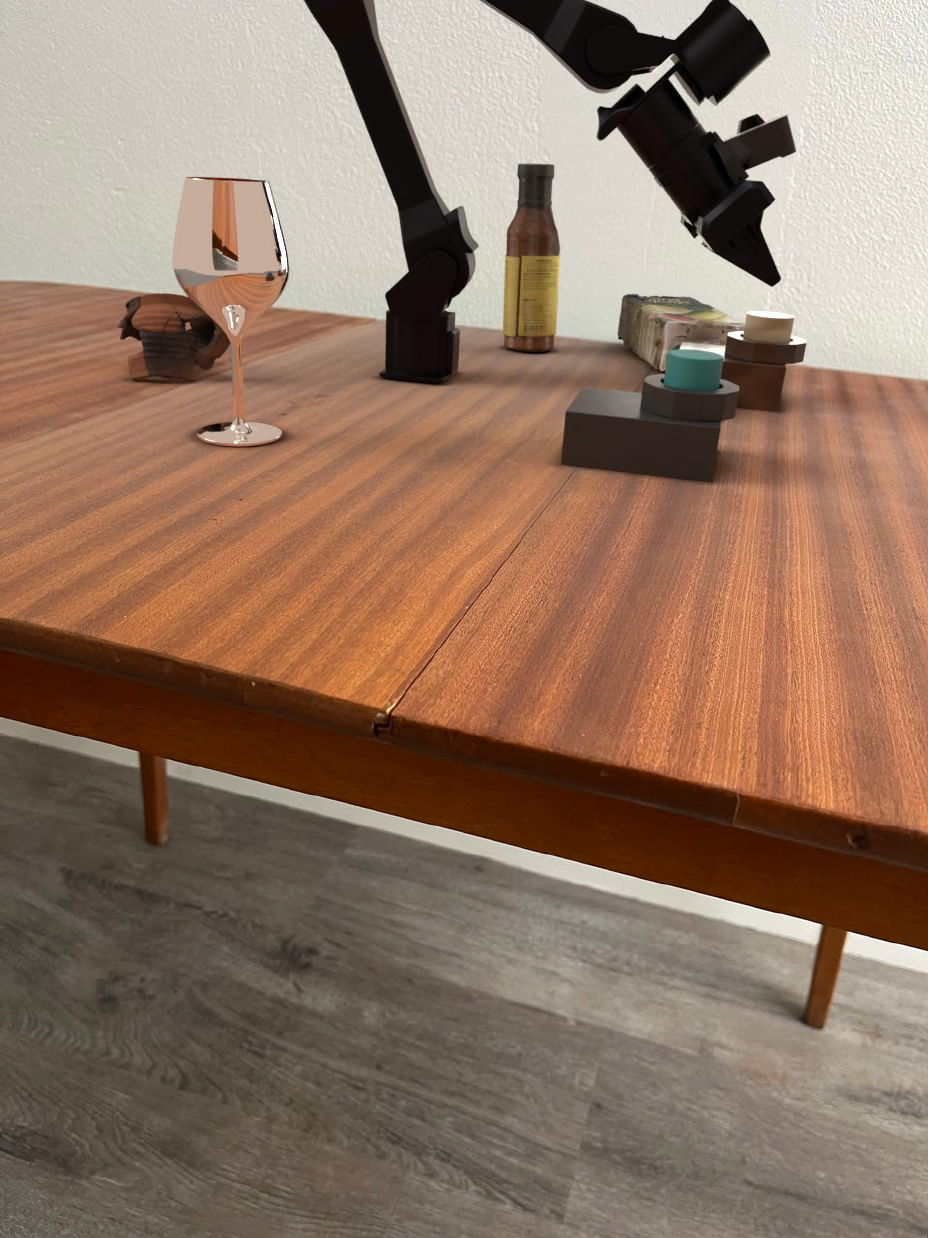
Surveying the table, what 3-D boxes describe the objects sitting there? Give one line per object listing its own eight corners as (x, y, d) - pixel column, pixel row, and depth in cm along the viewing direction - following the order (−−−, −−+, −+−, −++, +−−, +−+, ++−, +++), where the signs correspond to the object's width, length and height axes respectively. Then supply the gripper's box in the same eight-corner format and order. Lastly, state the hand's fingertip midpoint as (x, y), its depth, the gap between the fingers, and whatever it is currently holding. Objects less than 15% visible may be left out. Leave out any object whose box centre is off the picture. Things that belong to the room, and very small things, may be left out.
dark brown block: (560, 464, 73) (568, 383, 71) (577, 435, 81) (585, 361, 79) (725, 484, 71) (739, 400, 68) (726, 452, 79) (739, 376, 76)
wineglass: (312, 430, 78) (308, 182, 71) (260, 455, 71) (250, 183, 64) (221, 417, 81) (208, 175, 73) (163, 440, 74) (141, 175, 66)
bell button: (742, 343, 93) (746, 315, 92) (742, 336, 97) (746, 309, 96) (790, 347, 92) (795, 319, 91) (788, 340, 96) (793, 313, 95)
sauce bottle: (563, 349, 117) (580, 165, 109) (538, 355, 113) (554, 164, 104) (515, 341, 121) (528, 162, 112) (489, 347, 116) (500, 160, 107)
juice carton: (748, 376, 107) (757, 317, 105) (660, 375, 106) (667, 315, 103) (688, 345, 125) (695, 294, 123) (613, 343, 124) (618, 292, 121)
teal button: (661, 391, 72) (666, 356, 71) (665, 381, 75) (669, 347, 74) (717, 397, 71) (723, 361, 70) (718, 386, 74) (724, 352, 73)
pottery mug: (97, 383, 91) (94, 296, 92) (159, 410, 100) (156, 331, 101) (211, 362, 87) (207, 271, 88) (265, 391, 96) (261, 309, 97)
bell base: (670, 400, 95) (679, 336, 92) (675, 382, 103) (684, 323, 100) (796, 413, 93) (809, 348, 90) (791, 394, 100) (803, 333, 98)
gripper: (768, 67, 77) (880, 227, 81) (733, 83, 94) (827, 215, 98) (654, 172, 81) (766, 320, 85) (640, 169, 98) (734, 293, 102)
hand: (776, 282), depth 93 cm, fingers closed
